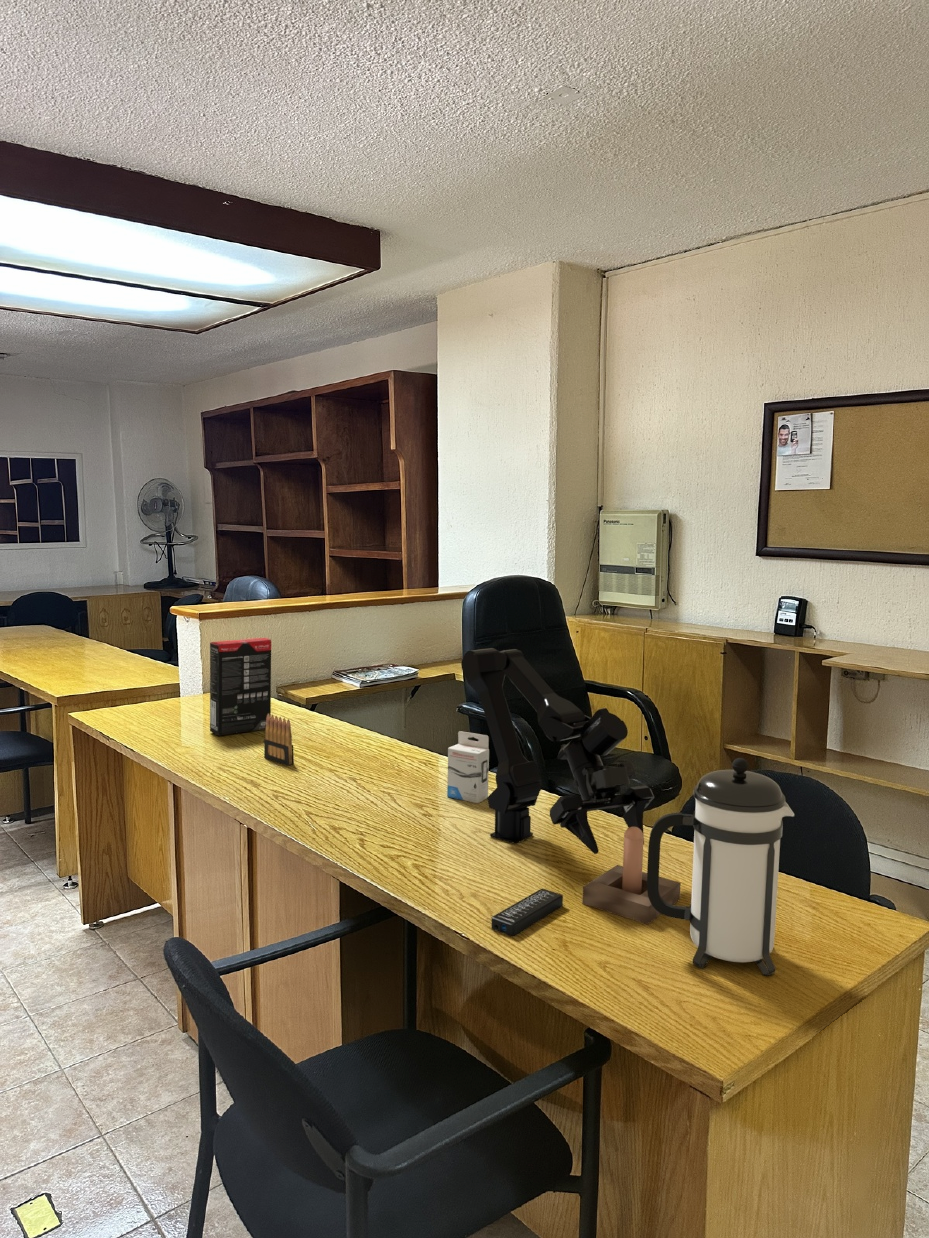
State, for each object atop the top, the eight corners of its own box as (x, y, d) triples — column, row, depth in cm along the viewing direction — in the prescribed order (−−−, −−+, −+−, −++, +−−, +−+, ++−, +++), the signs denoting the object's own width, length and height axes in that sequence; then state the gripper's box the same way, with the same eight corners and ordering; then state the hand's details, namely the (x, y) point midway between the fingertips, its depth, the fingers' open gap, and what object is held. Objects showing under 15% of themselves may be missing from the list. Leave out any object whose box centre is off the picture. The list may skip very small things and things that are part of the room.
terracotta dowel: (618, 901, 150) (621, 827, 148) (627, 895, 152) (630, 822, 151) (635, 907, 148) (638, 831, 146) (644, 900, 150) (647, 826, 149)
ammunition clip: (264, 757, 235) (263, 713, 233) (269, 756, 236) (269, 712, 234) (288, 766, 227) (287, 720, 226) (294, 764, 229) (293, 718, 227)
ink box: (446, 797, 204) (446, 734, 202) (456, 791, 208) (457, 730, 206) (478, 803, 200) (479, 739, 198) (489, 797, 204) (490, 735, 202)
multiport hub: (563, 907, 148) (564, 894, 148) (513, 939, 137) (513, 925, 137) (541, 900, 151) (542, 887, 151) (490, 931, 140) (490, 917, 139)
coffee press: (725, 920, 143) (734, 739, 140) (806, 965, 129) (818, 764, 126) (641, 944, 135) (648, 751, 131) (717, 994, 121) (727, 780, 118)
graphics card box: (262, 724, 271) (261, 636, 268) (273, 729, 266) (272, 638, 262) (209, 733, 260) (207, 640, 257) (219, 737, 255) (217, 643, 251)
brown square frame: (582, 903, 149) (582, 886, 149) (616, 880, 158) (617, 864, 158) (648, 924, 142) (648, 906, 141) (679, 899, 151) (680, 882, 151)
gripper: (559, 751, 151) (592, 835, 143) (650, 741, 159) (686, 821, 150) (536, 782, 160) (565, 864, 151) (623, 772, 167) (656, 849, 159)
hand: (619, 849), depth 153 cm, fingers open, 9 cm apart
